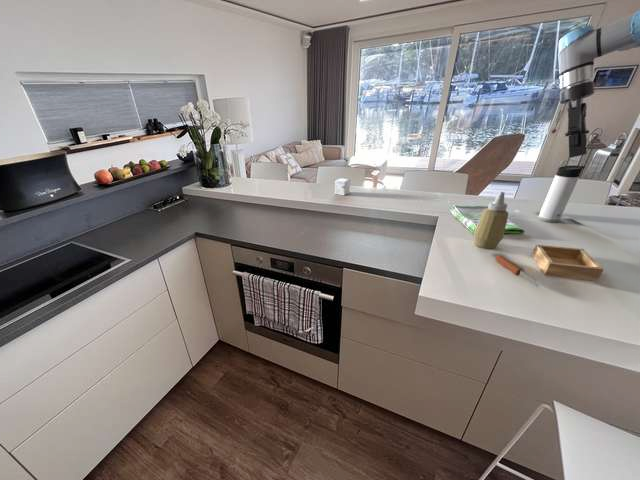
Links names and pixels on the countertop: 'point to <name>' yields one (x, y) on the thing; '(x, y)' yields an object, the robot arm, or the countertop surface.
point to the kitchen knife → (515, 269)
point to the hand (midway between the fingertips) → (578, 156)
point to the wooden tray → (566, 262)
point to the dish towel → (473, 215)
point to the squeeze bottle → (492, 224)
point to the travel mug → (560, 193)
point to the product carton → (342, 186)
